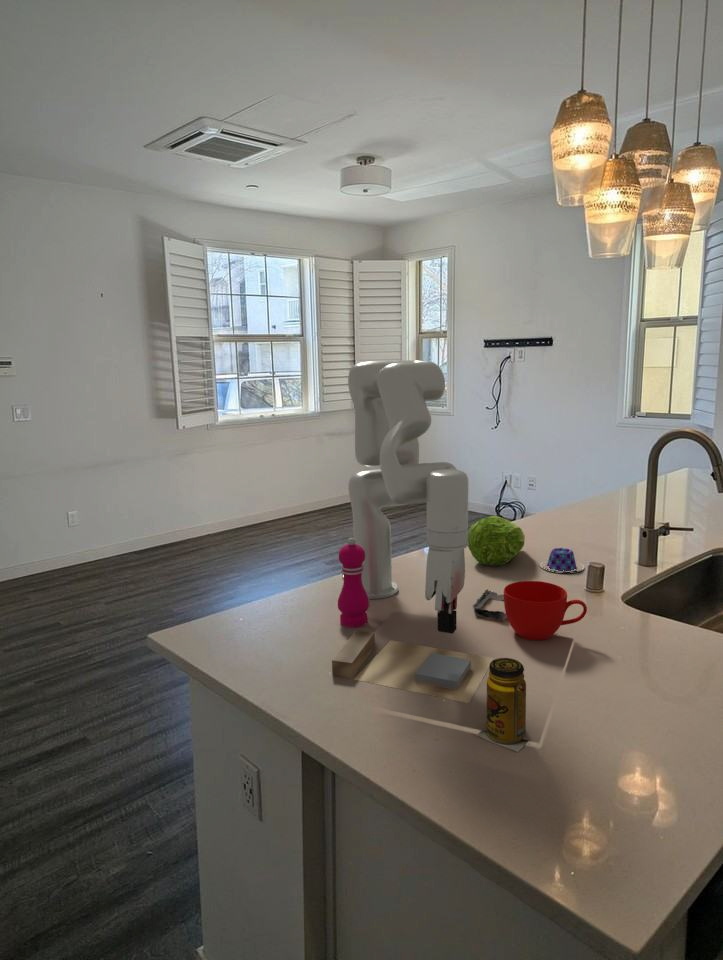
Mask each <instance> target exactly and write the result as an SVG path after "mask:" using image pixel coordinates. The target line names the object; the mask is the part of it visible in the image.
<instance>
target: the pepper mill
mask: <svg viewBox="0 0 723 960" xmlns="http://www.w3.org/2000/svg"><path fill="white" fill-rule="evenodd" d="M338 560H339V562H340V564H341V566H340V568H341V569H340V571H341V573H343V575H344V581H343V585H342V587H341V588H342V589H341V591H340V593H339V595H338V598H337V609H338V611H339V612H340V615H339V618H340V620H339V621H340V624H341V625H342V626H343V627H347V628H360V627H364V626H365V625H366V624H368V622H369V621H368V619H369V618H368V613H367V611H368V609H369V608H370V599H368V595H367V593H366V591H365V589H364V587H363V584H362V577H361V576H362V572H363V571H364V570H363V565H362V563H363V562H364V560H365V551H364V549H363V548H362V547H361V546H359V545H357V544H355V539H354V537H349V538H348V539H347V544H345V545H343V546H341V548H340V550H339V552H338Z"/></svg>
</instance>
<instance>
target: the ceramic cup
mask: <svg viewBox="0 0 723 960" xmlns="http://www.w3.org/2000/svg"><path fill="white" fill-rule="evenodd" d="M503 595H504V601H503V605H504V607H503V608H504V611H505V612H504V613H506V616H507V618H506V620H507V622H508V623H509V625H510V627H511V628H512V630H513V631H514V632H515V633H516V634H517V635H518V636H519V637H521V638H523V639H526V640H530V641H544V640H548V639H550V638H551V637H552V636H553V635H554V634H555V633H557V632H558V630H559V629H560V628H561V626H565V625H571V624H576V623H578V622H579V621H581V620H582V619H584V618H585V616H586V614H587V613H588V612H587V610H588V607H587V605H586V603H585V602H584V601H583V600H581V599H572V600H569V601H568V600H567V599H568V593H567V590H566V589H564V587H562V586H560V585H557V584H555V583H550V582H546V581H539V580H524V581H523V580H521V581H520V580H519V581H516V582H511V583H509V584H507V585H505V587H504V589H503ZM575 604H576V605H581V607H582V608H583V611H582V612H581V614H579V616H577V617H573V618H571V619H567V620H566V619H565V620H564V618H565V616H566V615H565V614H566V612H567V610H568V609H569V608H570V607H571V606H572V605H575Z"/></svg>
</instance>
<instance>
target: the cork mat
mask: <svg viewBox="0 0 723 960" xmlns="http://www.w3.org/2000/svg"><path fill="white" fill-rule="evenodd" d="M431 653H435V654H440V655H446V656H451V657H457V658H463V659H468V660H471V668H470V670H469V671H468V673H467V675H466V676H465V678H464V679H463V681H462V683H461V684H460V686H459V688H458V689H457V690H452V689H447V688H442V687H437V686H432V685H427V684H422V683H417V682H416V681H415V673H416V671H417V670H418V669H419V668H420V666H421V665H422V664H423V662H424V661H425V660H426V659H427V657H428V656H429V655H430V654H431ZM493 660H495V657H488V656H485V655H477V654H473V653H466V652H461V651H455V650H454V651H453V650H448V649H444V648H443V649H442V648H436V647H431V646H426V645H425V646H424V645H419V644H415V643H414V644H413V643H410V642H409V643H408V642H401V641H397V640H396V641H395V640H389V642H388V643H387V644H386V645H384V646H383V648H382V649H381V650H380V651H379V652H378V653H377V654H376V655H375V656H374V658H372V659H371V660H370V661H369V662H368V664H367V665H366V666H364V668H362V670H361V671H360V672H359V673H358V674H357V675H355V676H354V677H353V680H354V681H360V682H364V683H370V684H372V685H373V684H374V685H379V686H384V687H389V688H393V689H398V690H402V691H407V692H413V693H418V694H422V695H428V696H433V697H435V698H436V697H437V698H442V699H446V700H452V701H455V702H456V701H457V702H461V703H465V704H470V702H471V700H472V699H473V697H474V695H475V694H476V691H477V690H478V689H479V686H480V684H481V682H482V681H483V679H484V677H485V675H486V674H487V672H488V670H489V669H490V668H489V665H490V663H491V662H492V661H493Z"/></svg>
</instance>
